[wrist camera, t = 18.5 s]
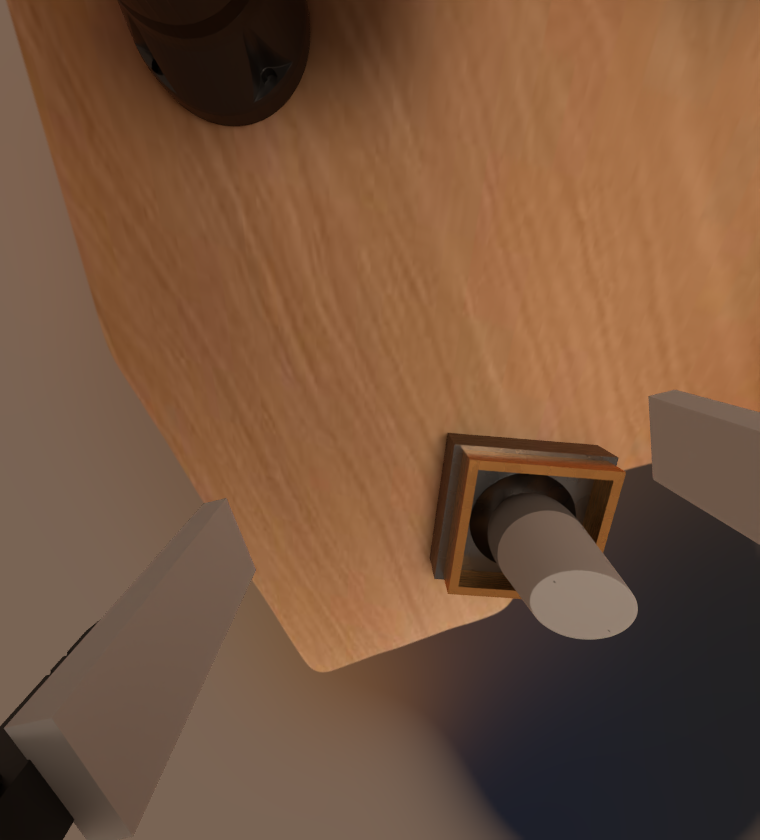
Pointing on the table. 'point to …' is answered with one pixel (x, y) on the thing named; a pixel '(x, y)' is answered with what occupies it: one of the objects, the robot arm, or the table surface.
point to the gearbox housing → (503, 478)
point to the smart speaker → (559, 568)
